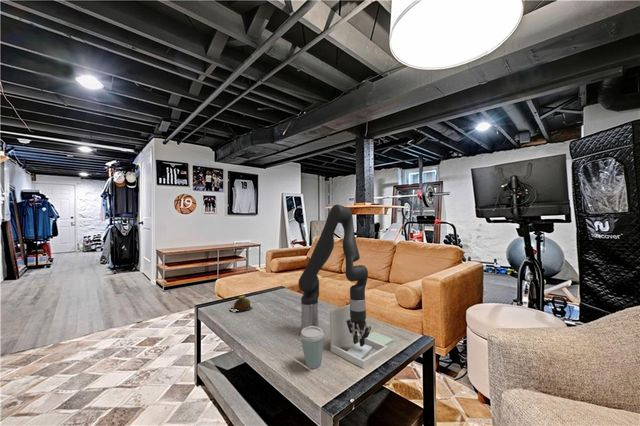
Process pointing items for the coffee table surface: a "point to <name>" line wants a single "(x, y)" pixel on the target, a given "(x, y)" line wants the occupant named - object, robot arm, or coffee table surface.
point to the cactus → (242, 304)
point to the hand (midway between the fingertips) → (358, 344)
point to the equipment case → (350, 339)
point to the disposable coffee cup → (312, 345)
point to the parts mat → (380, 338)
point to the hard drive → (360, 350)
